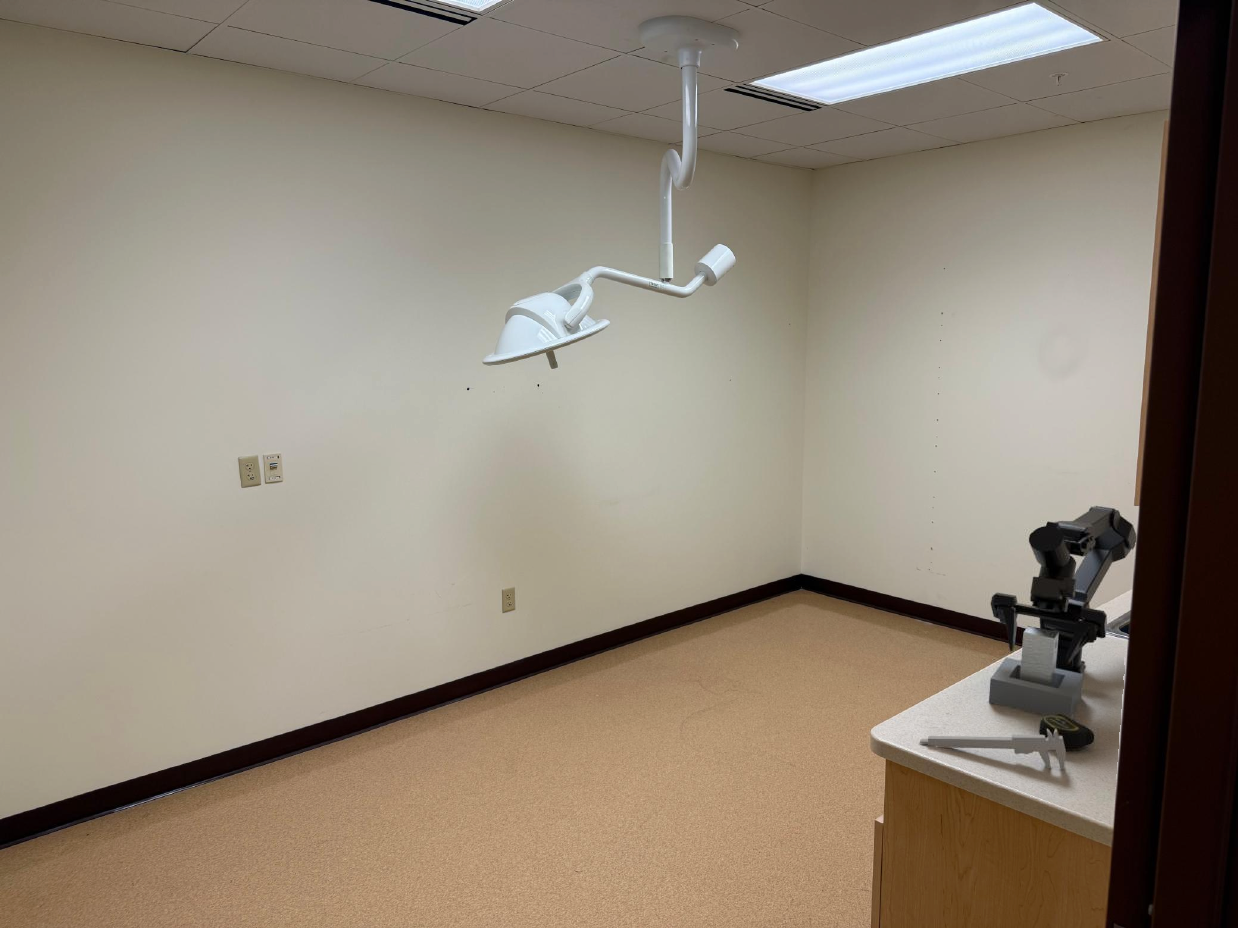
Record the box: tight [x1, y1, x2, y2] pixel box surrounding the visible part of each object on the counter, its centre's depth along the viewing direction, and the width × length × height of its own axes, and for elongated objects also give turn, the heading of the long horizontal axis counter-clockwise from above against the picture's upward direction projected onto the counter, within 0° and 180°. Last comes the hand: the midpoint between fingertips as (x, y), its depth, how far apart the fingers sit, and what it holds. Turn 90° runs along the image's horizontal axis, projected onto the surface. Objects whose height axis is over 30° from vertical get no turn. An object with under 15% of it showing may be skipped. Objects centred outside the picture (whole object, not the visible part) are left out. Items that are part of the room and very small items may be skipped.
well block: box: [988, 657, 1084, 719], centre depth 152 cm, size 12×13×4 cm
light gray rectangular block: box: [1020, 625, 1059, 687], centre depth 151 cm, size 4×5×12 cm
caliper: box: [919, 729, 1067, 771], centre depth 132 cm, size 21×1×6 cm, turn 66°
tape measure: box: [1038, 714, 1096, 751], centre depth 136 cm, size 7×7×4 cm
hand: (1038, 656), depth 151 cm, fingers open, 9 cm apart
